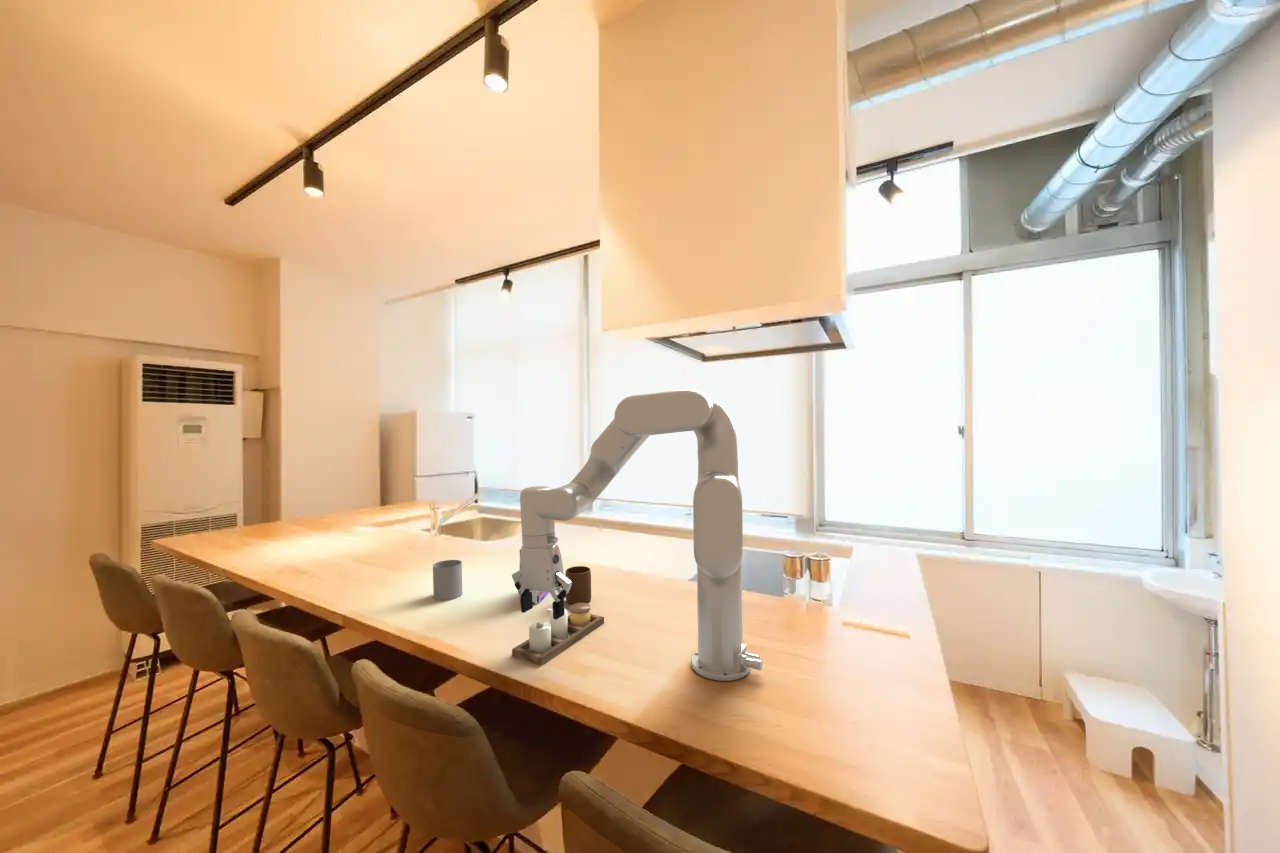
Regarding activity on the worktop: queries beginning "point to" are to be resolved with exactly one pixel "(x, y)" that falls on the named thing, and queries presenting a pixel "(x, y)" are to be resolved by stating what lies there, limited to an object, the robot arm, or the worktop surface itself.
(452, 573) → the cup
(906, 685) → the worktop surface
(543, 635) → the sugar pot
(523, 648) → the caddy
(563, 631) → the cylinder
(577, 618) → the honey jar
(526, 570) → the robot arm
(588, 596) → the mug
